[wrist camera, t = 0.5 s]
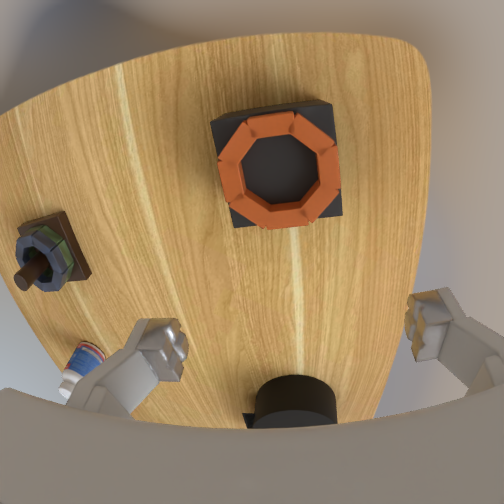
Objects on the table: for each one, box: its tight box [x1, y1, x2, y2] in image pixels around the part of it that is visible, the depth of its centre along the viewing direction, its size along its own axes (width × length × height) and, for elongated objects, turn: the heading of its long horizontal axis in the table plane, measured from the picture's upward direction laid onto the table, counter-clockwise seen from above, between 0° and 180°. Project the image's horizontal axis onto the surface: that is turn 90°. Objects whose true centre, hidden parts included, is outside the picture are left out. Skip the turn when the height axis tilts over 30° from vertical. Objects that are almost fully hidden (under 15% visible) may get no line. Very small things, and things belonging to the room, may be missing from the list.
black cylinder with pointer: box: [242, 375, 337, 429], centre depth 44 cm, size 14×18×8 cm
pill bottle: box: [59, 342, 105, 399], centre depth 41 cm, size 6×5×10 cm
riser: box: [210, 100, 343, 228], centre depth 24 cm, size 8×8×6 cm
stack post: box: [14, 211, 92, 292], centre depth 31 cm, size 9×9×8 cm
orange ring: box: [217, 111, 341, 230], centre depth 20 cm, size 8×8×1 cm
